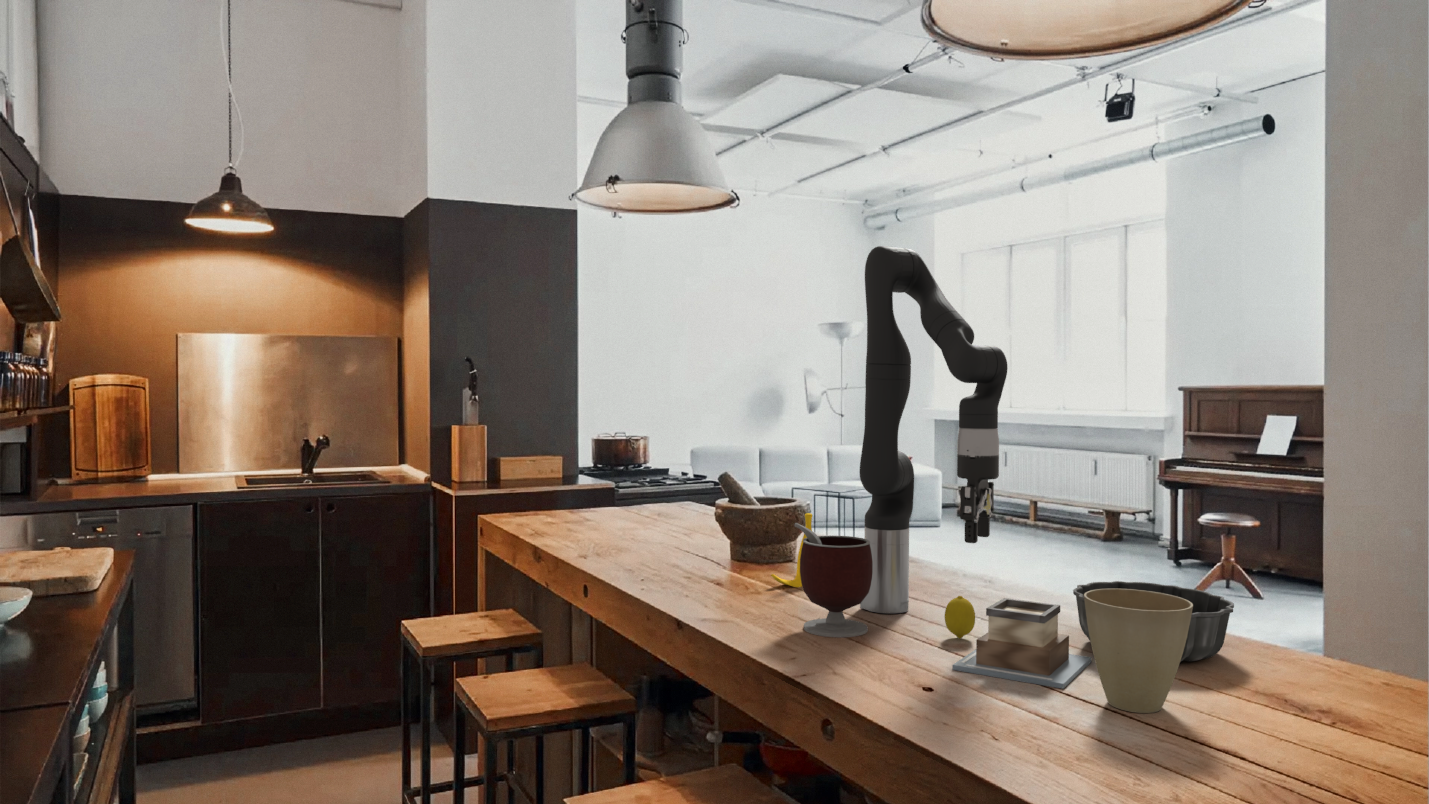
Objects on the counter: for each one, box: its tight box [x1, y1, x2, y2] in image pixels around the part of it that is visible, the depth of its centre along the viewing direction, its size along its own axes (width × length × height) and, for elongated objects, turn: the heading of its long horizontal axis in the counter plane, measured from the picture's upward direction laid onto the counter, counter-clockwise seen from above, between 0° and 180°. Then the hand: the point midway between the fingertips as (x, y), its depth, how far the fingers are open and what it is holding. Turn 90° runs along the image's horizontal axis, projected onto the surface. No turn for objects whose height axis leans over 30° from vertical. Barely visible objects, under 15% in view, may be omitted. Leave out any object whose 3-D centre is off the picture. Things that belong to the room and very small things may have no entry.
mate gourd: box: [793, 522, 873, 638], centre depth 193 cm, size 16×14×20 cm
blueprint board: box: [951, 649, 1092, 690], centre depth 169 cm, size 18×18×1 cm
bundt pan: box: [1072, 580, 1235, 663], centre depth 179 cm, size 26×26×10 cm
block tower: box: [975, 597, 1070, 676], centre depth 169 cm, size 12×12×9 cm
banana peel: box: [770, 512, 813, 588], centre depth 234 cm, size 17×19×17 cm
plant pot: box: [1084, 589, 1193, 714], centre depth 149 cm, size 15×15×16 cm
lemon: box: [944, 595, 976, 640], centre depth 186 cm, size 6×6×8 cm
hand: (977, 539), depth 186 cm, fingers open, 8 cm apart
